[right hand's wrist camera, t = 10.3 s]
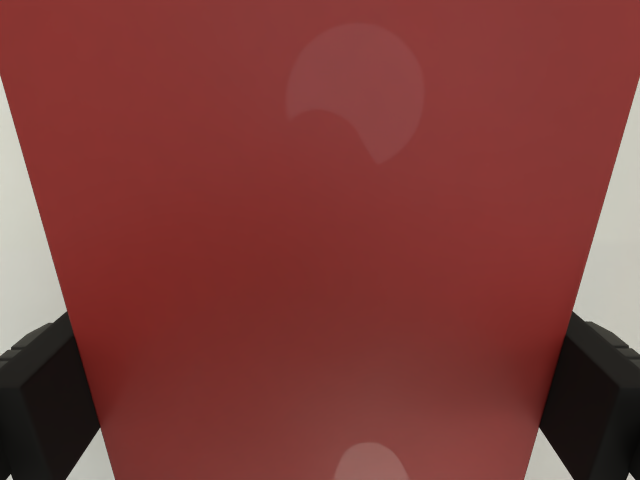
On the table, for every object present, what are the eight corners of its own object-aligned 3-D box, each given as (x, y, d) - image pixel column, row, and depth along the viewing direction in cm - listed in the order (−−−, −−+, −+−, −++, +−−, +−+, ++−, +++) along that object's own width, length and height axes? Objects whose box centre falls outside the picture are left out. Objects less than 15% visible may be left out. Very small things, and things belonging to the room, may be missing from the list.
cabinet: (178, -104, 15) (-198, -609, 4) (461, -103, 15) (840, -605, 4) (221, 295, 21) (121, 509, 10) (417, 296, 21) (517, 509, 10)
